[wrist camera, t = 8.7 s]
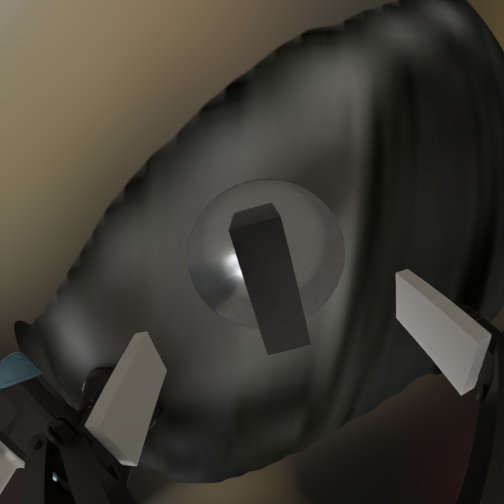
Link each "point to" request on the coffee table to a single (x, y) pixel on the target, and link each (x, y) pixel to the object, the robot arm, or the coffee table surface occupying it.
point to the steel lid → (267, 258)
